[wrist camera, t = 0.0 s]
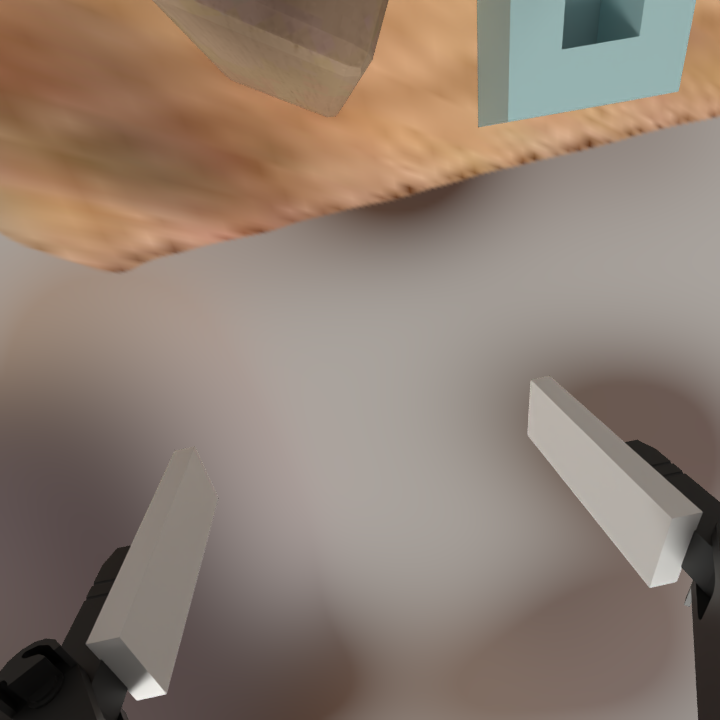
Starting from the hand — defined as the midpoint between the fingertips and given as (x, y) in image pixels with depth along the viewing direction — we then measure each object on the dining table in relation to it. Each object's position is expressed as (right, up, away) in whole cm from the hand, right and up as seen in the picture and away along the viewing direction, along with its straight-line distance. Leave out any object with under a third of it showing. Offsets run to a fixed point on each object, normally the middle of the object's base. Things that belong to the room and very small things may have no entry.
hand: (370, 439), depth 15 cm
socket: (+16, +32, +17) cm, 40 cm away
